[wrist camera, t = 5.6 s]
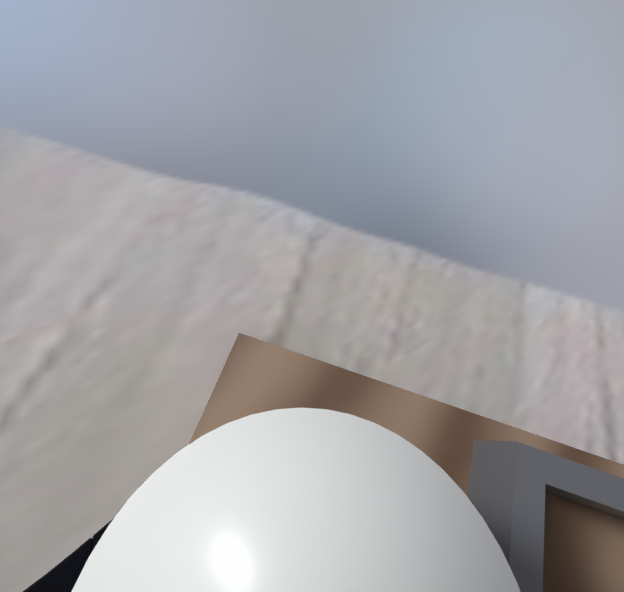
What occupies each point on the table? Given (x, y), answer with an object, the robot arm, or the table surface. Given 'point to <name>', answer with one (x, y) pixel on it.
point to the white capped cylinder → (298, 516)
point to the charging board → (424, 447)
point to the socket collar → (532, 499)
